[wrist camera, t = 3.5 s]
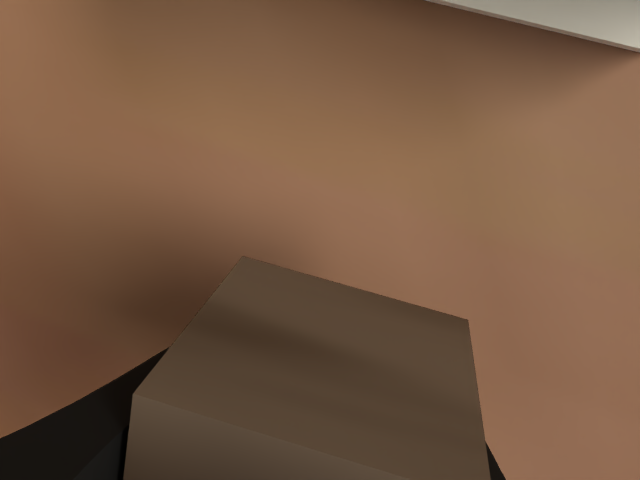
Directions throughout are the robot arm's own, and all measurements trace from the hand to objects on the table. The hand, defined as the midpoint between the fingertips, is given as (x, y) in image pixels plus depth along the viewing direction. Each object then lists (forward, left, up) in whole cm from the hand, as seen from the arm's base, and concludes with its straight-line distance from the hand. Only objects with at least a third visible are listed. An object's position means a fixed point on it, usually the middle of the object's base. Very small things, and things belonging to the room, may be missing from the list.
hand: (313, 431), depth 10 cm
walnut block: (0, 0, -2) cm, 2 cm away
